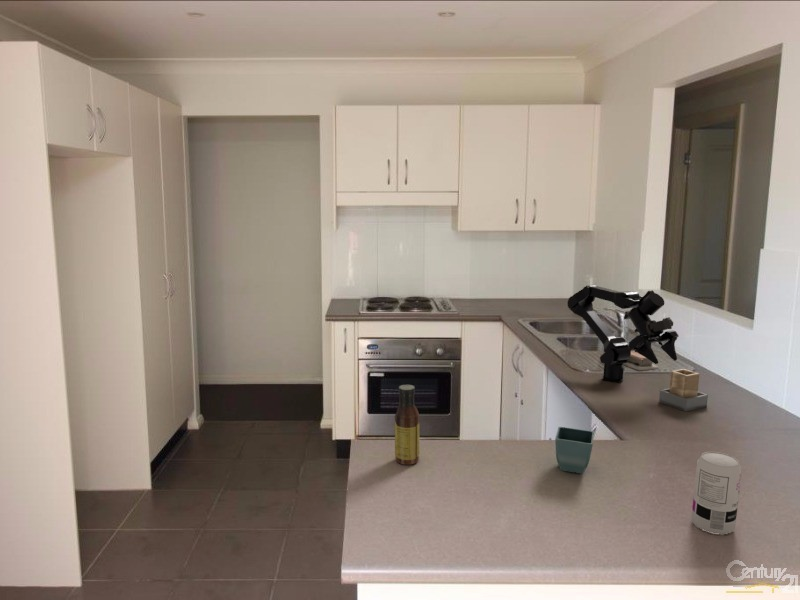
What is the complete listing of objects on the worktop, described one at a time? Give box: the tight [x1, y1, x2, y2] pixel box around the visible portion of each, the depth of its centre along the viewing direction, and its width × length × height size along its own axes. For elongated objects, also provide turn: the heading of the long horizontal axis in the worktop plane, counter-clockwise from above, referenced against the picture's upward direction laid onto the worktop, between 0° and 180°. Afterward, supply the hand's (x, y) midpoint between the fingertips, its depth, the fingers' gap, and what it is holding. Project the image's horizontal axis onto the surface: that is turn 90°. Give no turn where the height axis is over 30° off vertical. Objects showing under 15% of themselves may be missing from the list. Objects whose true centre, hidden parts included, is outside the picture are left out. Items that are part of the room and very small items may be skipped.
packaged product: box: [623, 350, 660, 372], centre depth 253 cm, size 18×5×10 cm
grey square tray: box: [658, 387, 709, 412], centre depth 206 cm, size 10×10×4 cm
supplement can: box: [691, 451, 743, 534], centre depth 130 cm, size 8×8×15 cm
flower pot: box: [554, 426, 595, 474], centre depth 157 cm, size 9×9×9 cm
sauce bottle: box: [394, 384, 421, 466], centre depth 159 cm, size 6×6×20 cm
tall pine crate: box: [669, 368, 700, 399], centre depth 205 cm, size 6×6×10 cm
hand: (666, 361), depth 210 cm, fingers open, 9 cm apart
